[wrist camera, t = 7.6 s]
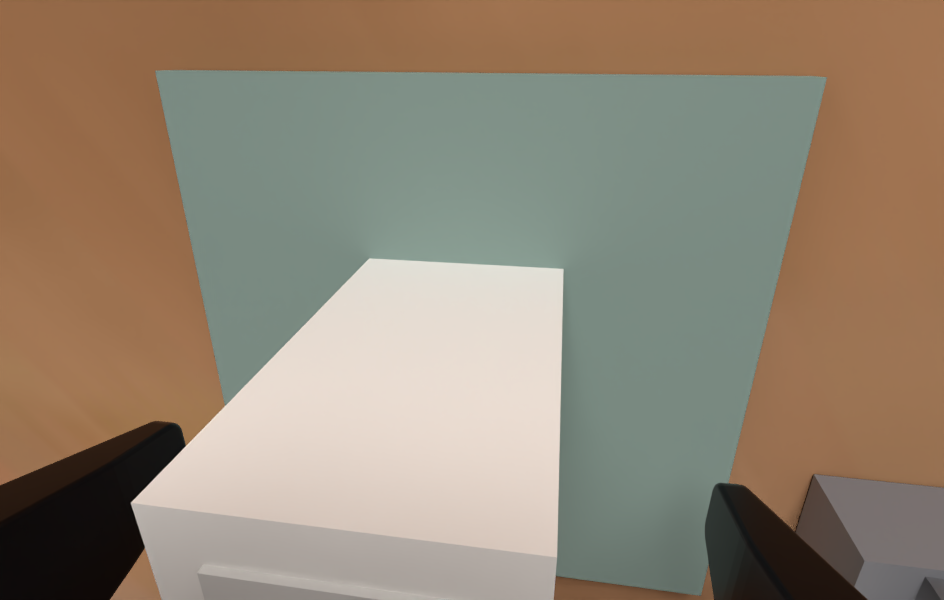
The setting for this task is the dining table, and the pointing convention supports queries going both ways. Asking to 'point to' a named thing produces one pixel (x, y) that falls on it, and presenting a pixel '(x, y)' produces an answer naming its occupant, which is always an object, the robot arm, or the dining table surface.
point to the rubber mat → (524, 250)
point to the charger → (380, 450)
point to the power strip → (878, 535)
